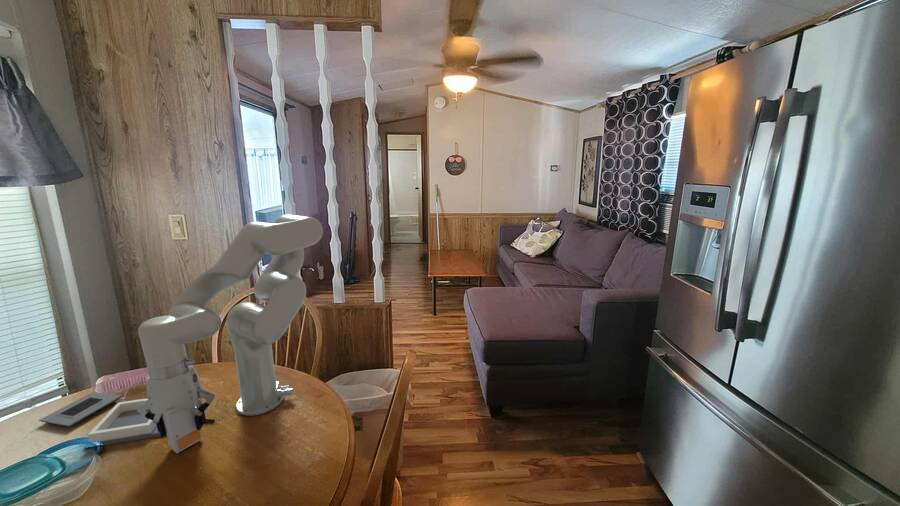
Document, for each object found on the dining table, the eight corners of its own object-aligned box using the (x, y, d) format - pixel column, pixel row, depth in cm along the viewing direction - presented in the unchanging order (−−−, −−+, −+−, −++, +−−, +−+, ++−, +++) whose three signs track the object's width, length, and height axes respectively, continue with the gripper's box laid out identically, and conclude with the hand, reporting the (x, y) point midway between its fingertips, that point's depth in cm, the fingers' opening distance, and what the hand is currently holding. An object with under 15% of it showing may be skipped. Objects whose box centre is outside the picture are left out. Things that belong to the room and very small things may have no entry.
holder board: (201, 400, 109) (199, 390, 108) (182, 432, 96) (179, 420, 95) (117, 412, 103) (114, 402, 102) (84, 448, 90) (81, 436, 89)
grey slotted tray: (70, 432, 96) (68, 424, 95) (40, 426, 98) (38, 419, 97) (123, 401, 109) (121, 394, 108) (95, 397, 111) (93, 390, 110)
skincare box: (177, 454, 88) (166, 413, 85) (169, 447, 90) (158, 407, 87) (204, 438, 93) (195, 399, 90) (196, 432, 95) (187, 393, 92)
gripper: (215, 353, 91) (226, 412, 96) (133, 364, 87) (150, 426, 91) (204, 369, 84) (217, 432, 89) (115, 382, 80) (134, 448, 84)
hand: (183, 428), depth 90 cm, fingers closed on skincare box, 7 cm apart
